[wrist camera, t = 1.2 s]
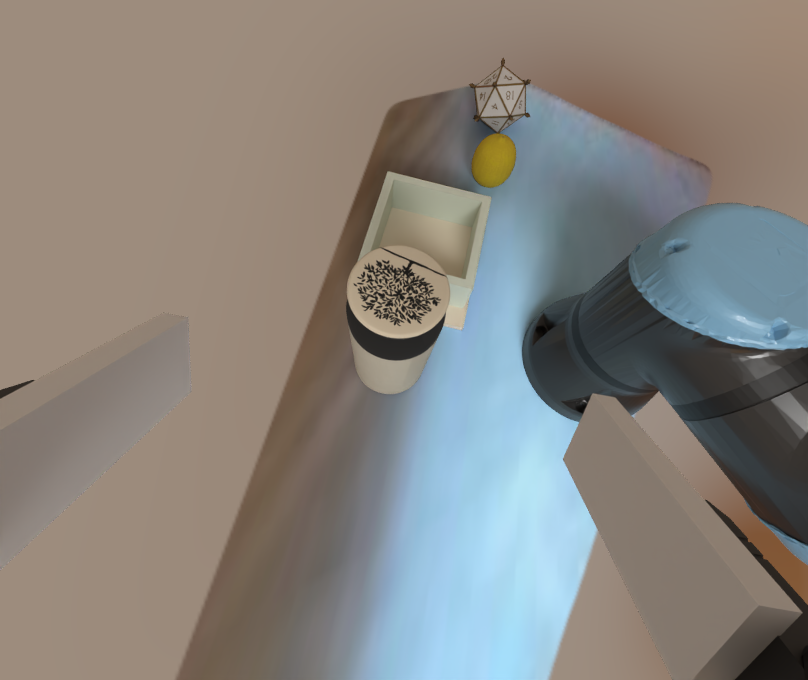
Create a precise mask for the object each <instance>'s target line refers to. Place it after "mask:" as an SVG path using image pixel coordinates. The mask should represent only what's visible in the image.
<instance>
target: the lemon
mask: <svg viewBox="0 0 808 680" xmlns="http://www.w3.org/2000/svg"><path fill="white" fill-rule="evenodd" d="M515 160H516V148H515V145H514V143H513V141H512V140H511V139H510V138H509V137H508V136H506V135H504V134H499V133H497V134H492V135H489V136H487V137H486V138H485V139H483V140H482V142H481V143H480V144H479V145H478V147H477V149H476V151H475V153H474V156H473V159H472V174H473V177H474V179H475V180H476V182H477V183H478V184H480V185H481V186H484V187H488V188H492V187H496V186H499V185H500V184H502V183H503V182H504V181H505V180H506V179H507V178H508V177H509V176H510V174H511V172H512V170H513V168H514V165H515Z"/></svg>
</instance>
